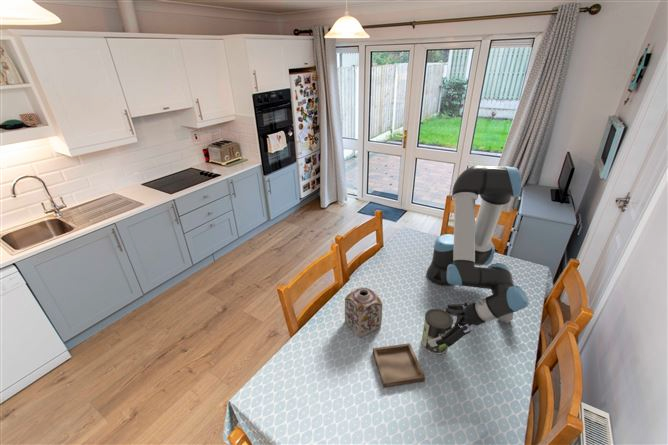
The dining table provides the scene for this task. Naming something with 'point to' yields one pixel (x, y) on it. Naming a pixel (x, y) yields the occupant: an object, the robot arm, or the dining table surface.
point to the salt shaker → (506, 318)
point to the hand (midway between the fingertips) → (431, 330)
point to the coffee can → (436, 329)
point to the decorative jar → (363, 311)
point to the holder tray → (397, 365)
